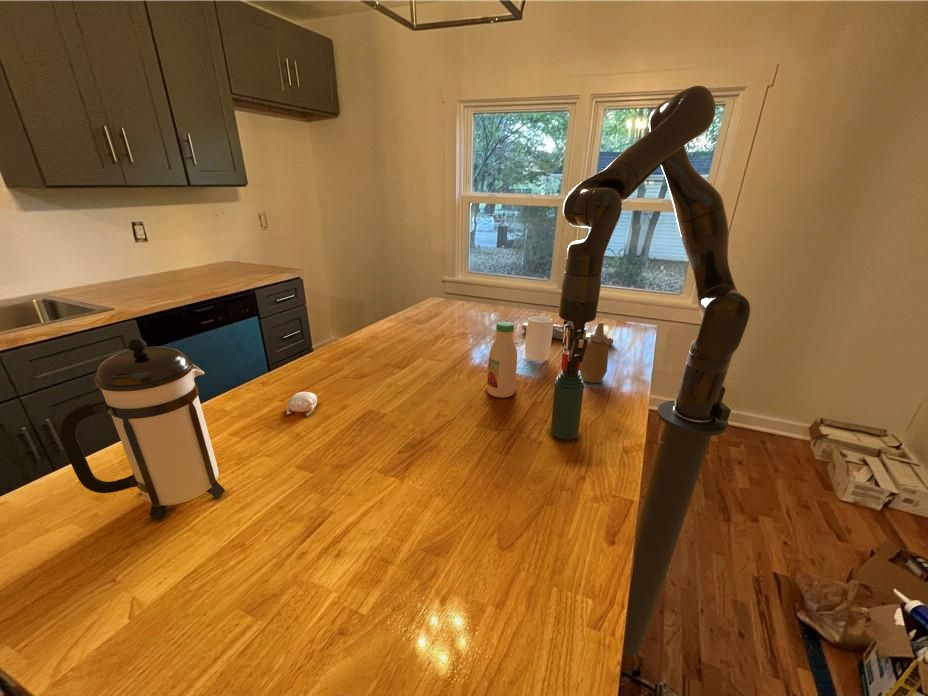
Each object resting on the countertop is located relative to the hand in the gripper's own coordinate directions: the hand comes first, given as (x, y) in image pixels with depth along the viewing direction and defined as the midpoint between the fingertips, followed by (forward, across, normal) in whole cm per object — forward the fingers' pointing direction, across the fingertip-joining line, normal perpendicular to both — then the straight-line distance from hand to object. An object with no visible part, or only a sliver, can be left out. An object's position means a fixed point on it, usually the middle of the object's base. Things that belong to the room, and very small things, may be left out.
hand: (569, 372), depth 93 cm
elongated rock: (+16, -70, +13) cm, 73 cm away
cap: (-1, 0, 0) cm, 1 cm away
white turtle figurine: (+16, -7, -64) cm, 67 cm away
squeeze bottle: (+16, -32, +15) cm, 39 cm away
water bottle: (+15, 0, +1) cm, 15 cm away
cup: (+16, -46, 0) cm, 49 cm away
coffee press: (+16, +27, -74) cm, 81 cm away
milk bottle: (+16, -21, -13) cm, 30 cm away
